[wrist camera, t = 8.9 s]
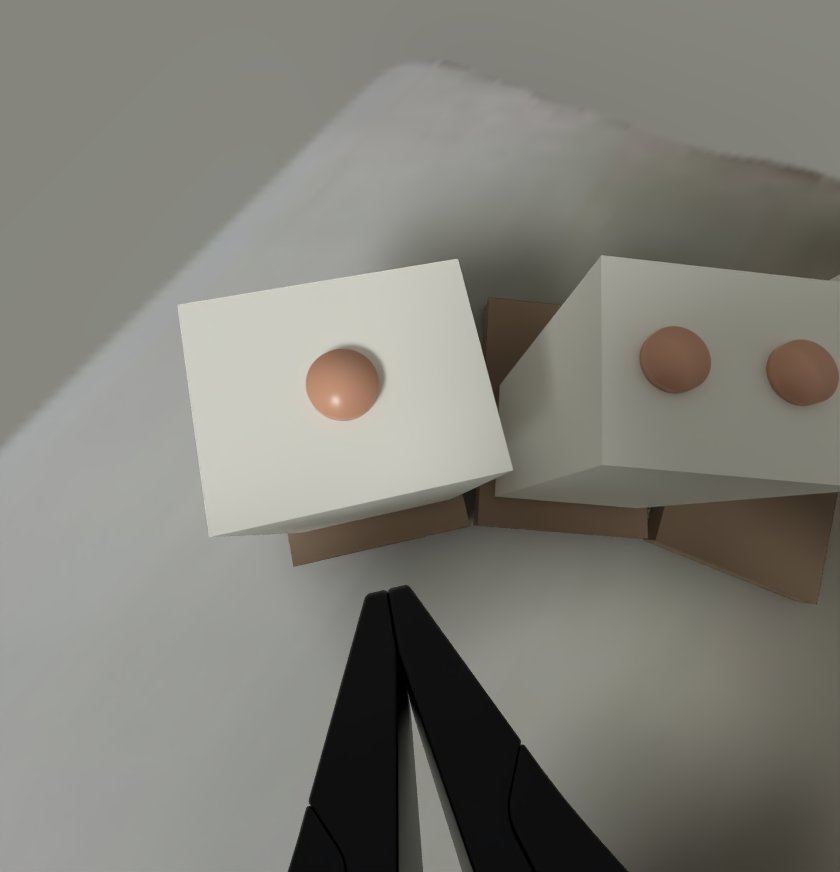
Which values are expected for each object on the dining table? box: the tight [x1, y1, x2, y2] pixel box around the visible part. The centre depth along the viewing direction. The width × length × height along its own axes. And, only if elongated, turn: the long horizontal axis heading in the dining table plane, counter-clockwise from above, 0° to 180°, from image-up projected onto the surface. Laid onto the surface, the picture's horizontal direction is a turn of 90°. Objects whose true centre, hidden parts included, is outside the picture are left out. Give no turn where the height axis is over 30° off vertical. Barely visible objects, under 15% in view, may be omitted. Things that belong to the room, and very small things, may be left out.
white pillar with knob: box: [177, 259, 513, 537], centre depth 12 cm, size 4×5×8 cm
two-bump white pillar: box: [495, 255, 840, 508], centre depth 12 cm, size 4×5×8 cm
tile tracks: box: [288, 298, 838, 604], centre depth 17 cm, size 22×16×1 cm
